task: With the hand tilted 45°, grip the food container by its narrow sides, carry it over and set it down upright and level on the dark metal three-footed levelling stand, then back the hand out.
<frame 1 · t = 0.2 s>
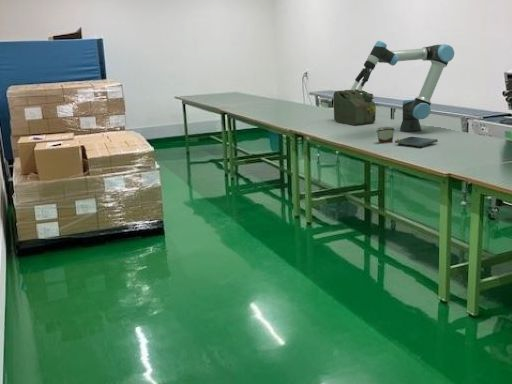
hand: (355, 90, 372), 34 cm above the table, tool tilted 35°, fingers open, 13 cm apart
levelling stand: (415, 144, 348), on the table
fuel can: (354, 123, 455), on the table
food container: (384, 142, 362), on the table
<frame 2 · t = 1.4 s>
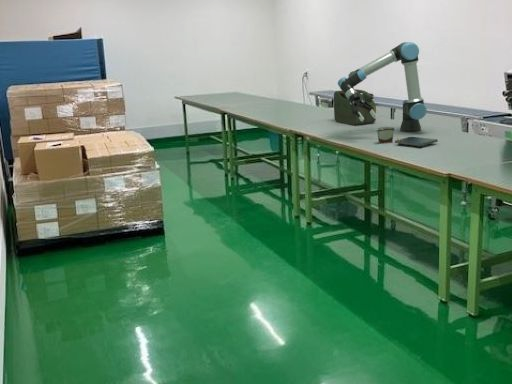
hand: (369, 119, 368), 15 cm above the table, tool tilted 45°, fingers open, 13 cm apart
nothing on the table moved.
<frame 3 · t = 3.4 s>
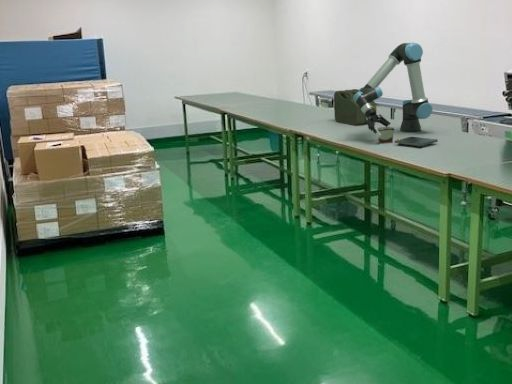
hand: (386, 134, 359), 5 cm above the table, tool tilted 45°, fingers open, 13 cm apart
food container: (384, 142, 362), on the table, touching gripper
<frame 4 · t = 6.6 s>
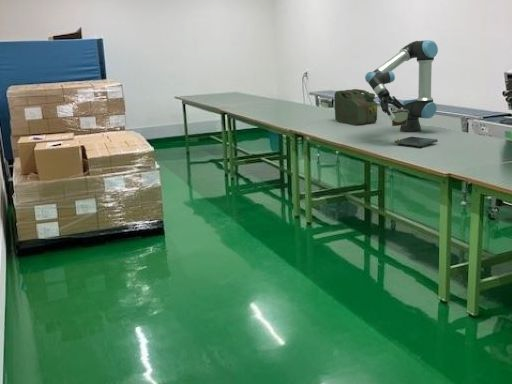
hand: (399, 117, 348), 18 cm above the table, tool tilted 45°, fingers closed on food container, 11 cm apart
food container: (397, 125, 352), point 12 cm above the table, touching gripper
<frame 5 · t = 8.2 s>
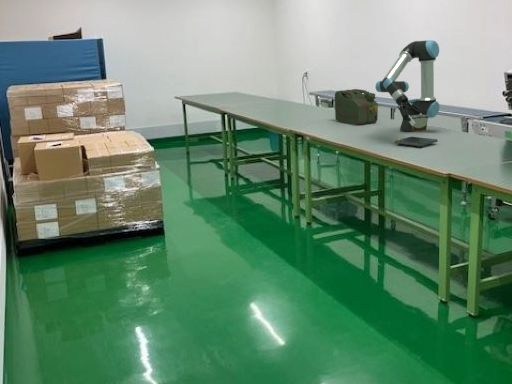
hand: (419, 123, 342), 14 cm above the table, tool tilted 45°, fingers closed on food container, 11 cm apart
food container: (417, 131, 346), point 9 cm above the table, touching gripper
when the fingers open (9 cm above the table, at t = 9.6 s): food container moves 1 cm, resting on levelling stand.
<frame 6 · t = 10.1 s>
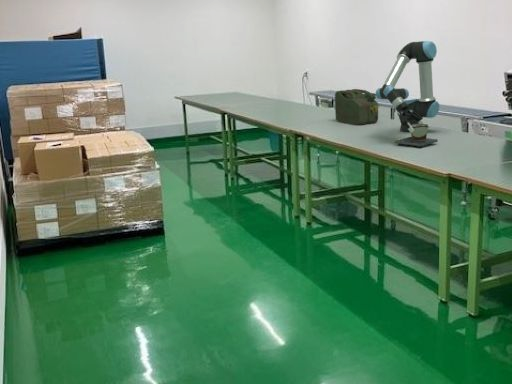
hand: (419, 130, 344), 10 cm above the table, tool tilted 45°, fingers open, 13 cm apart
food container: (417, 140, 348), point 3 cm above the table, touching levelling stand
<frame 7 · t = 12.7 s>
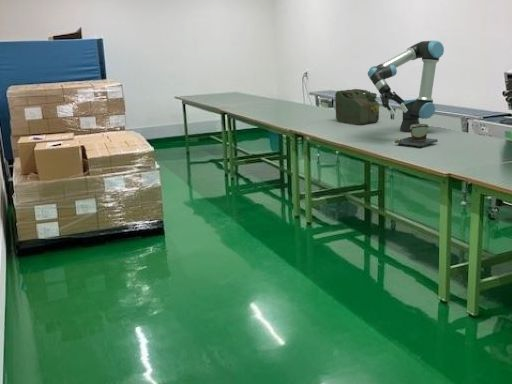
hand: (399, 112, 353), 20 cm above the table, tool tilted 40°, fingers open, 13 cm apart
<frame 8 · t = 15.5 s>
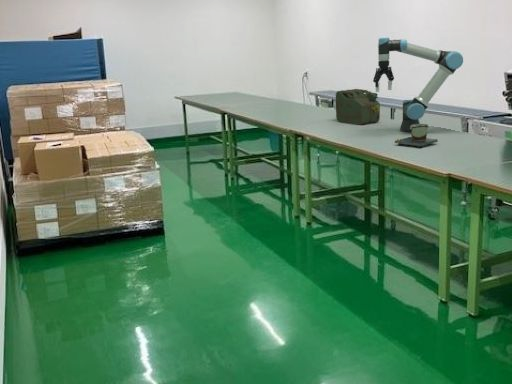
hand: (383, 90, 382), 32 cm above the table, tool pointing down, fingers open, 13 cm apart
at the end: food container inside the target area on the levelling stand (0.9 cm from its centre), point 2.8 cm above the levelling stand's base; food container tilted 0°; the gripper is holding nothing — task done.
